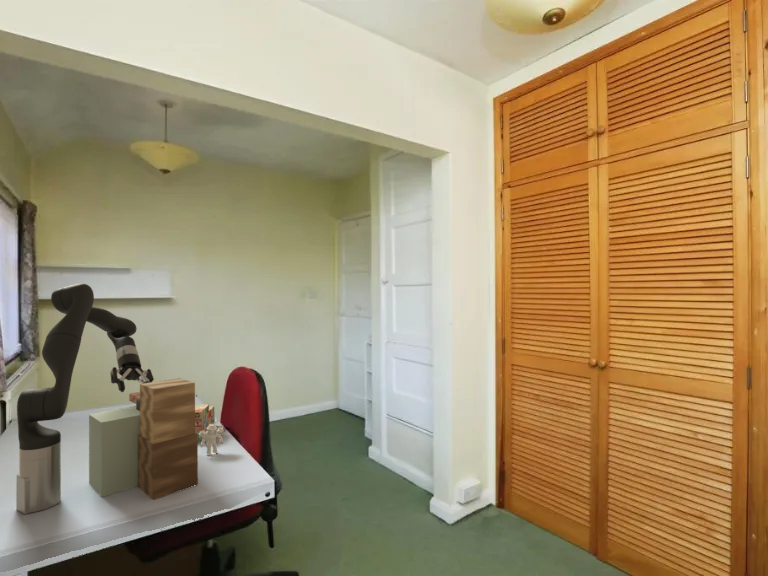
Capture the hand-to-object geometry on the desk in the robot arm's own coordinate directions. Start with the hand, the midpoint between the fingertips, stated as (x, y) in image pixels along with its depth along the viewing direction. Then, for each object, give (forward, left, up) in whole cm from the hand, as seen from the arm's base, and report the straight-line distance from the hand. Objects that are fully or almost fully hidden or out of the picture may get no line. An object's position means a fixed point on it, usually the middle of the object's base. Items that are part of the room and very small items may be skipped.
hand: (135, 390), depth 158 cm
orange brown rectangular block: (-5, -15, -2) cm, 16 cm away
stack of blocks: (+29, +3, -25) cm, 38 cm away
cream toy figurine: (+16, -23, -25) cm, 37 cm away
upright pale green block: (-9, -20, -24) cm, 33 cm away
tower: (-8, -35, -24) cm, 43 cm away
